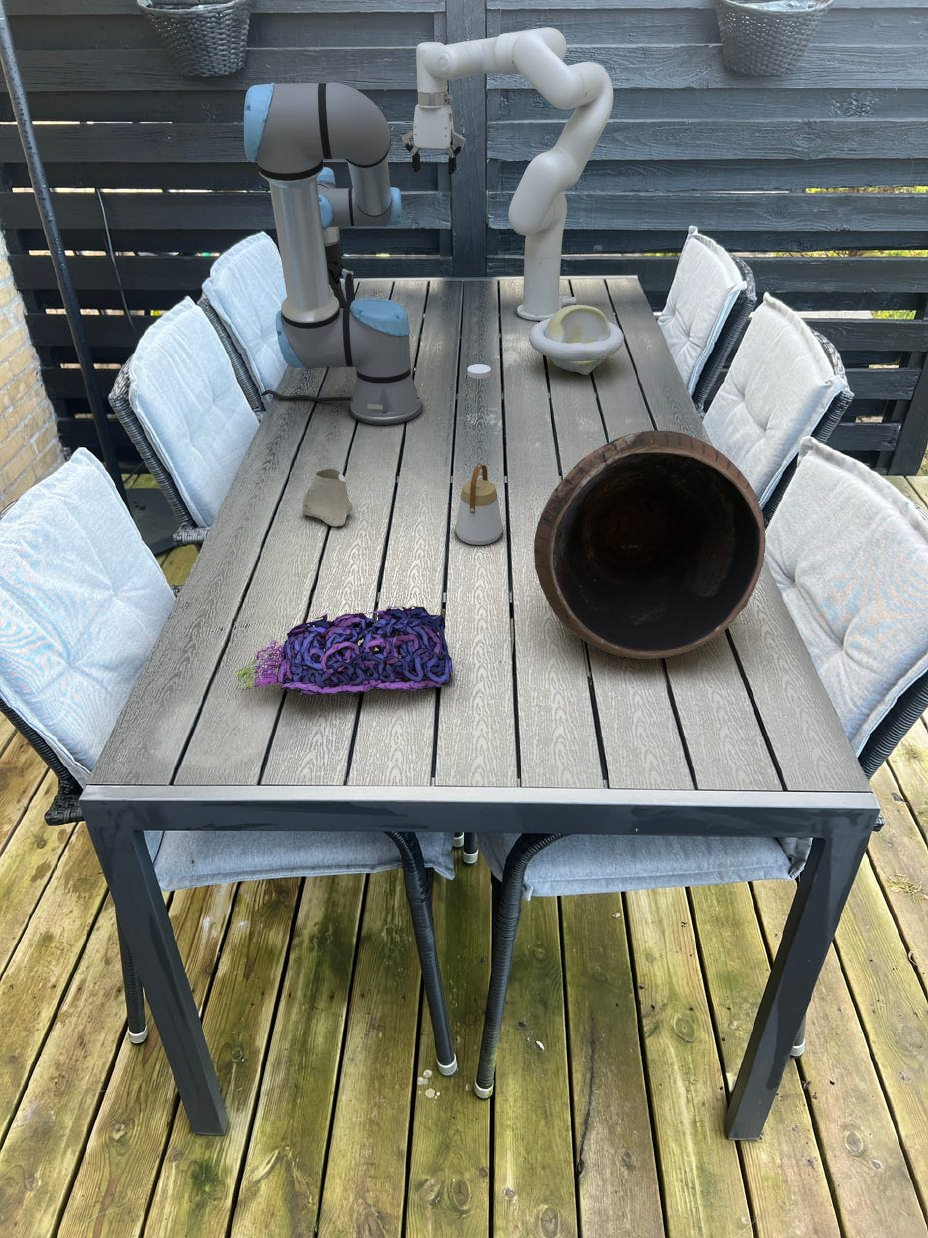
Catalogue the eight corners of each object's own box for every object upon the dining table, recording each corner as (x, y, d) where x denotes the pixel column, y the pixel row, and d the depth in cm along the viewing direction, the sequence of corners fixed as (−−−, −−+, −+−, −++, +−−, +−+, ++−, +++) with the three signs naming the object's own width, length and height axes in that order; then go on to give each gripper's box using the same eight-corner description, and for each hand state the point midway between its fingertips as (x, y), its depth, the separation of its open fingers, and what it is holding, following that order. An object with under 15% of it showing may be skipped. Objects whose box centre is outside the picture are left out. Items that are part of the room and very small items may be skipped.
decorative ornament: (458, 672, 122) (225, 684, 119) (455, 713, 130) (238, 725, 128) (450, 592, 130) (231, 602, 127) (447, 636, 138) (243, 646, 135)
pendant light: (493, 549, 158) (495, 382, 140) (448, 540, 161) (445, 375, 142) (508, 525, 164) (512, 362, 146) (465, 517, 167) (463, 355, 148)
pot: (569, 390, 148) (614, 390, 119) (739, 473, 153) (822, 494, 124) (483, 572, 154) (505, 616, 125) (649, 647, 159) (708, 705, 130)
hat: (520, 351, 228) (521, 289, 219) (607, 347, 230) (612, 285, 221) (537, 392, 209) (540, 327, 200) (632, 387, 211) (639, 322, 202)
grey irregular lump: (352, 523, 169) (358, 468, 167) (345, 530, 162) (351, 474, 159) (303, 516, 169) (308, 461, 167) (294, 523, 162) (299, 466, 159)
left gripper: (366, 240, 213) (373, 339, 228) (295, 234, 218) (306, 332, 232) (353, 249, 208) (361, 350, 222) (280, 243, 212) (293, 342, 226)
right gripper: (469, 98, 237) (469, 171, 248) (405, 95, 241) (408, 167, 252) (460, 102, 231) (461, 177, 242) (395, 100, 236) (398, 173, 246)
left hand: (333, 340), depth 227 cm, fingers closed on brick, 5 cm apart
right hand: (434, 172), depth 247 cm, fingers open, 9 cm apart
